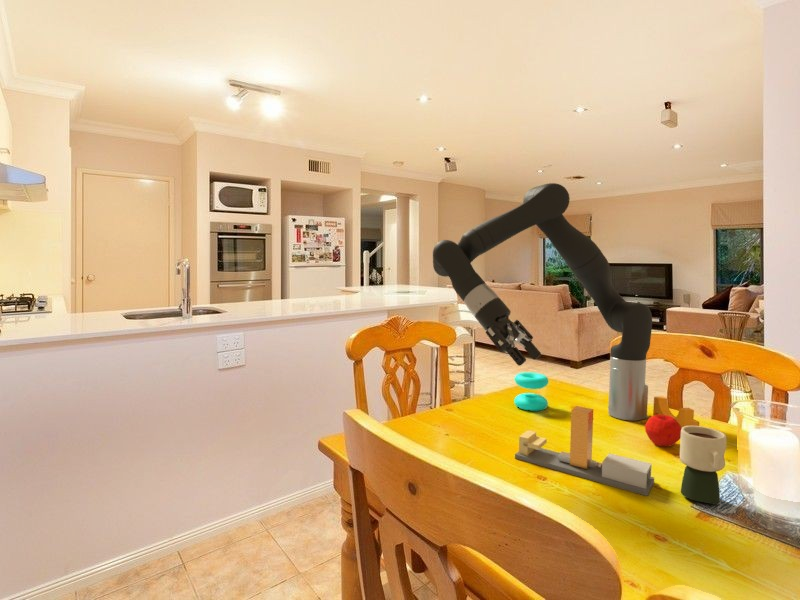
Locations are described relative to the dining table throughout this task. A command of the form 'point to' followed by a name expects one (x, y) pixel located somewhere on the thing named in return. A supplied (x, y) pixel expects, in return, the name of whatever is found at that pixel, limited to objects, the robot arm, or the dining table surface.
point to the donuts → (530, 399)
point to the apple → (663, 430)
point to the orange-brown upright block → (580, 439)
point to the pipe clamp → (682, 418)
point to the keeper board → (613, 470)
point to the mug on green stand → (702, 462)
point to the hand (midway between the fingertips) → (530, 360)
